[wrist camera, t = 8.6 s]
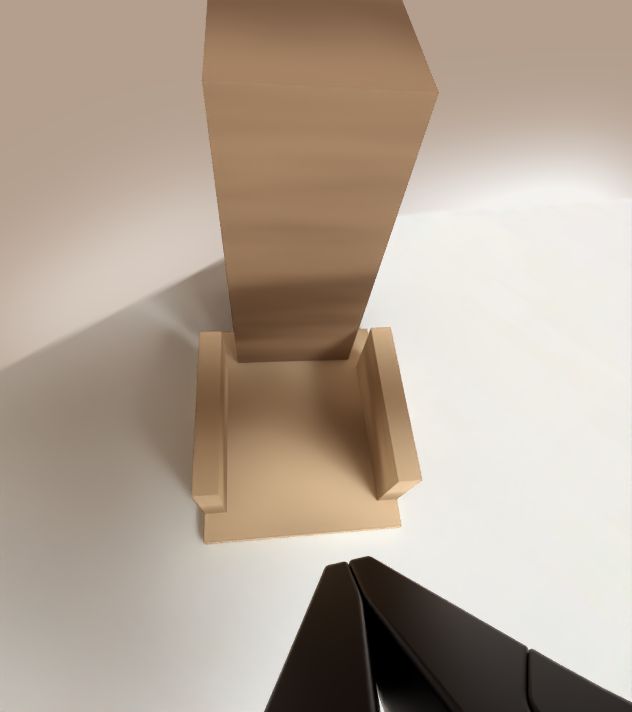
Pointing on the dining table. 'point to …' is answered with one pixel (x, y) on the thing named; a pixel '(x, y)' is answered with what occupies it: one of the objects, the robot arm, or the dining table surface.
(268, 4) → the walnut block
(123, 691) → the dining table surface
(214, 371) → the chute
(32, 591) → the dining table surface
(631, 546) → the dining table surface
